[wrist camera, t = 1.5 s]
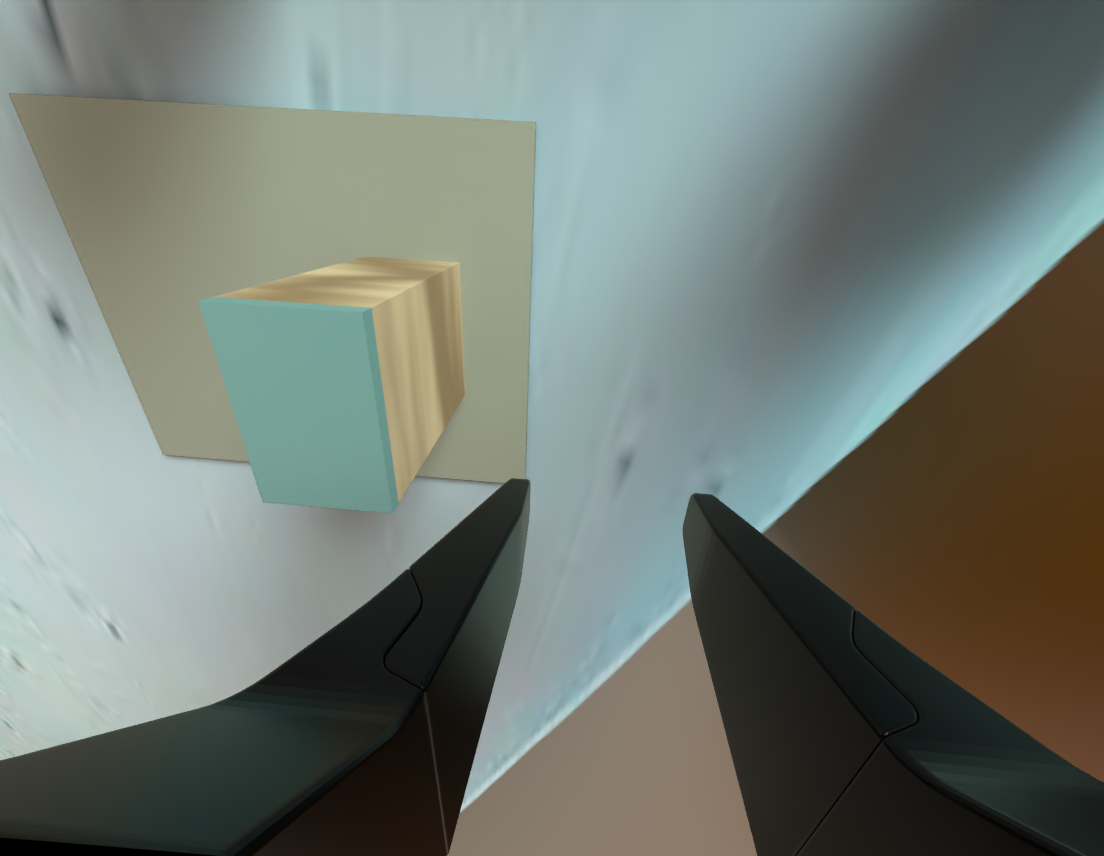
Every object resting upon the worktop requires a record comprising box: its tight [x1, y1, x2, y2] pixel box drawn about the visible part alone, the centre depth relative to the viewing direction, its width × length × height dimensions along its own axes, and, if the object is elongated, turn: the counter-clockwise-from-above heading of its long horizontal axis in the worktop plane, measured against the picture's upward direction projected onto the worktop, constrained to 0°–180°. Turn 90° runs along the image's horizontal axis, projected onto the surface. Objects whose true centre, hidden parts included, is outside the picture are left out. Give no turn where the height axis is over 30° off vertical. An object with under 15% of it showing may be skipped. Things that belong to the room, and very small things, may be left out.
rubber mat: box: [9, 93, 536, 483], centre depth 20 cm, size 20×16×1 cm
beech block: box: [198, 257, 465, 513], centre depth 16 cm, size 4×6×9 cm, turn 177°
